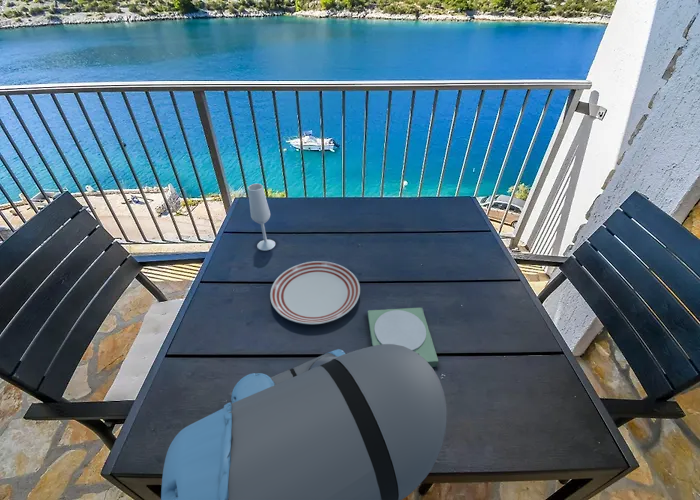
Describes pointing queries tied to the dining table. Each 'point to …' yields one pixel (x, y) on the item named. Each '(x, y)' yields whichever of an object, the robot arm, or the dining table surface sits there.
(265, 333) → the dining table surface
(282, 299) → the dinner plate
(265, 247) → the champagne flute
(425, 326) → the kitchen scale
